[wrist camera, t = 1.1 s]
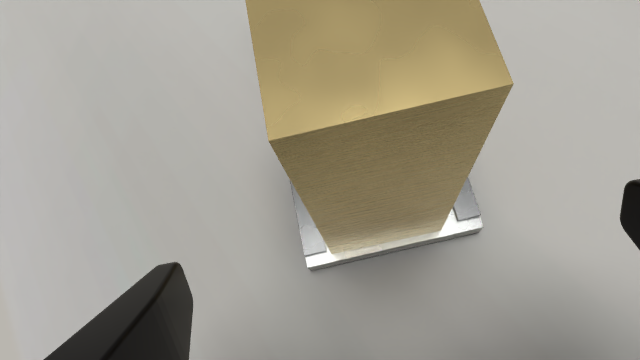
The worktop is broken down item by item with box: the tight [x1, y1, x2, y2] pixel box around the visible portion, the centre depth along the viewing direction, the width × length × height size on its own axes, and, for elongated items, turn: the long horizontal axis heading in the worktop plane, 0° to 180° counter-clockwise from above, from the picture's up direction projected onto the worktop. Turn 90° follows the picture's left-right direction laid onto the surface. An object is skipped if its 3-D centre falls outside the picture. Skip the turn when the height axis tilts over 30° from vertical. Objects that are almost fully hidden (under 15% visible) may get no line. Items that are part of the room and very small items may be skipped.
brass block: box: [246, 0, 513, 254], centre depth 16 cm, size 6×5×12 cm
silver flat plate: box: [290, 177, 483, 271], centre depth 23 cm, size 15×8×1 cm, turn 12°
